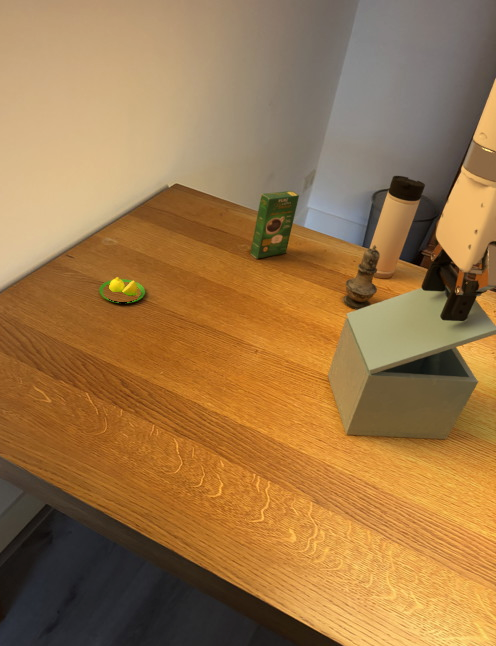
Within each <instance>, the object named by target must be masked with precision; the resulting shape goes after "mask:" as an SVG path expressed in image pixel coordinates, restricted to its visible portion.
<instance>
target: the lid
mask: <svg viewBox="0 0 496 646" xmlns="http://www.w3.org/2000/svg"><path fill="white" fill-rule="evenodd" d="M458 273H459V272H457V270H456V269H455V268H453V267H452V265H451V264H448V263H445V264H442V265H440V266H439V267H438V269H437V275H438V276H439V278H440V279H441V281H442V282H443V283H444V287H445V291H443V292H440V291H424V290H423V289H422V288H421V287H419V288H416V289H413V290H410V291H408V292H405V293H401V294H399V295H395V296H393V297H390V298H388V299H385V300H382V301H379V302H376V303H373V304H370V306H367V307H364V308H361V309H358V310H356V309H354V310H352V311H350V312H346V314H345V315H346V318H347V319H348V321H349V323H350V326H351V328H352V331H353V333H354V335H355V338H356V340H357V343H358V345H359V348H360V350H361V353H362V355H363V358H364V360H365V362H366V365H367V367H368V370H369V372H370V374H374V373H377V372H380V371H383V370H386V369H389V368H392V367H396V366H399V365H402V364H405V363H408V362H411V361H414V360H417V359H421V358H424V357H427V356H430V355H433V354H436V353H439V352H442V351H446V350H449V349H452V348H455V347H456V348H458V347H461V346H464V345H467V344H471V343H473V342H476V341H480V340H482V339H486V338H489V337H493V336H495V335H496V324H495V323H494V322H493V320H492V319H491V317H490V316H489V314H487V312H486V311H485V310H484V309H483V307H482V306H481V304H480V303H479V302H478V301H477V299H476V300H475V302H474V304H473V306H472V308H471V310H470V312H469V314H468V317H467V319H466V320H465V321H446V320H442V319H441V317H440V315H441V313H442V310H443V308H444V306H445V303H446V301H447V299H448V296H449V294H450V292H451V290H455V288H456V283H457V278H458Z"/></svg>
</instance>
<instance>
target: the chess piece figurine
mask: <svg viewBox="0 0 496 646" xmlns="http://www.w3.org/2000/svg"><path fill="white" fill-rule="evenodd" d="M375 248H376V246H375V245H374V246H373V248H372V249H370V248H367V249H366V250H365V251H364V252H363V256H362V257H361V262H360V263H359V264H358V265H357V273H356V276H355V277H354V278H353V277H352V278H349V279H347V280H346V281H345V286H346V287H345V289H346V293H347V294H345V295H344V296H343V297H342V302H343V304H344V305H345V306H347V307H348V308H350V309H352V310H358V309H361V308H364V307H367V306H370V305H371V303H370V300H371V299H372V298H373V297H374V295H375V294H377V292H378V288H377V286H376V285H375V284H374V283H373V279H374V277H373V276H374V273H376V272H377V268H376V266H377V263H378V260H379V257H380V254H379V252H378V251H377V250H376V249H375Z"/></svg>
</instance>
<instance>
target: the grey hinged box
mask: <svg viewBox="0 0 496 646" xmlns="http://www.w3.org/2000/svg"><path fill="white" fill-rule="evenodd" d="M327 378H328V381H329V385H330V388H331V392H332V394H333V398H334V400H335V401H334V402H335V404H336V408H337V410H338V413H339V417H340V420H341V423H342V427H343V430H344V432H345V435H347V436H365V437H366V436H367V437H369V436H370V437H386V438H387V437H388V438H389V437H390V438H406V439H407V438H410V439H431V440H447V439H448V437H449V435H450V434H451V432H452V430H453V429H454V427H455V425H456V423H457V421H458V420H459V418H460V415H461V414H462V412H463V410H464V409H465V408H466V405H467V403H468V401H469V400H470V398H471V396H472V394H473V392H474V391H475V389H476V387H477V385H478V383H479V381H478V379H477V377H476V376H475V375H474V373H473V372H472V370H471V368H470V366H469V365H468V364H467V361H466V360H465V359H464V357H463V355H462V354H461V352H460V350H459V349H458V347H455V348H452V349H449V350H446V351H442V352H439V353H436V354H433V355H430V356H427V357H424V358H421V359H417V360H414V361H411V362H408V363H405V364H402V365H399V366H396V367H392V368H389V369H386V370H383V371H380V372H377V373H374V374H370V372H369V370H368V367H367V365H366V362H365V360H364V358H363V355H362V353H361V350H360V348H359V345H358V343H357V340H356V338H355V335H354V333H353V331H352V328H351V326H350V323H349V321H348V318H347V317H346V318H345V320H344V323H343V325H342V330H341V333H340V335H339V339H338V342H337V345H336V348H335V351H334V353H333V357H332V360H331V364H330V367H329V370H328V373H327Z"/></svg>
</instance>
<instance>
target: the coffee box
mask: <svg viewBox="0 0 496 646" xmlns="http://www.w3.org/2000/svg"><path fill="white" fill-rule="evenodd" d="M299 199H300V195H299V194H298V193H296V192H295V191H293V190H285V191H277V192H265V193H261V194H260V200H259V204H258V210H257V216H256V220H255V226H254V232H253V237H252V241H251V247H250V253H249V254H250V255H251V256H252V257H253V258H254V259H257V260H258V259H265V258H268V257H273V256H280V255H284V254H287V251H288V247H289V243H290V236H291V232H292V229H293V223H294V220H295V216H296V211H297V207H298V203H299Z"/></svg>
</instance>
